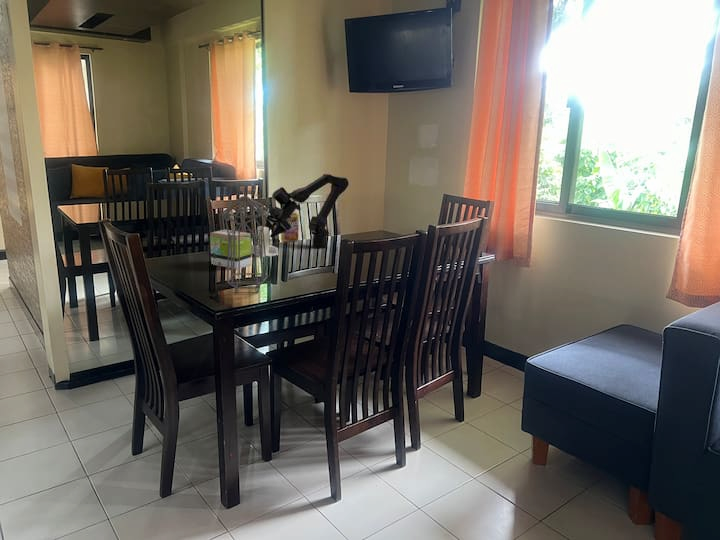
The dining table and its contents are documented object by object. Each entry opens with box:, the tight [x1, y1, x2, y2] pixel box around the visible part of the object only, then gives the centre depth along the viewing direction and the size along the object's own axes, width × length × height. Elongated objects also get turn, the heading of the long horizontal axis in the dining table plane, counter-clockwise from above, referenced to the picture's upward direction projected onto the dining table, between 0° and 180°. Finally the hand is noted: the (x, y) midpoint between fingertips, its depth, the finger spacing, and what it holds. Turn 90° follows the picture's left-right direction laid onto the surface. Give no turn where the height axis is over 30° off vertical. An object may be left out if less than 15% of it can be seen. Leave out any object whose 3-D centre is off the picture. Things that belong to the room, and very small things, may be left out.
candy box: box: [280, 212, 300, 243], centre depth 284 cm, size 9×4×15 cm, turn 109°
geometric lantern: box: [219, 195, 269, 294], centre depth 190 cm, size 16×16×35 cm
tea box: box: [209, 228, 252, 270], centre depth 230 cm, size 15×10×15 cm
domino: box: [257, 225, 270, 253], centre depth 253 cm, size 6×3×12 cm, turn 36°
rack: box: [251, 244, 279, 258], centre depth 254 cm, size 13×9×4 cm
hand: (266, 235), depth 254 cm, fingers open, 9 cm apart
